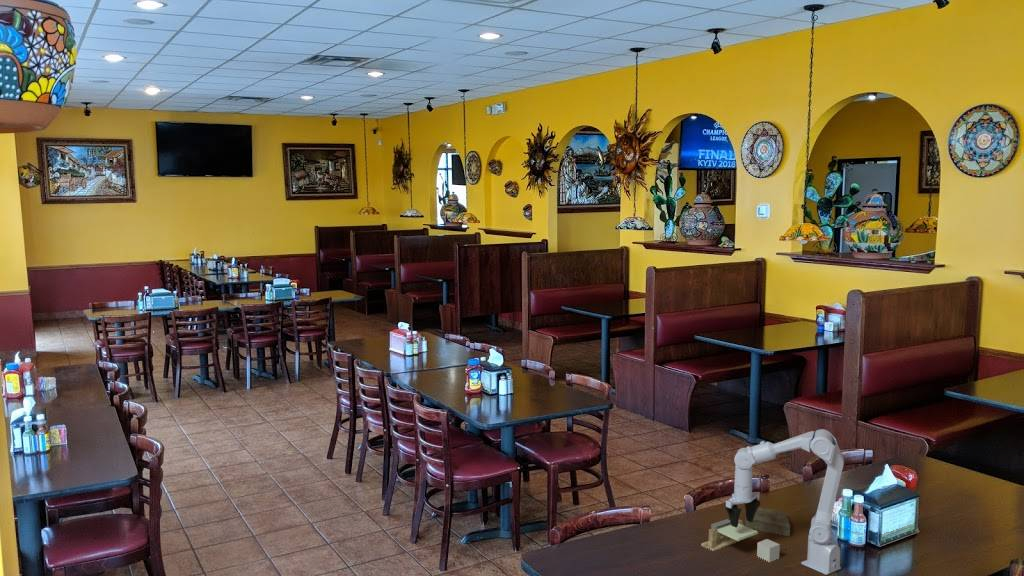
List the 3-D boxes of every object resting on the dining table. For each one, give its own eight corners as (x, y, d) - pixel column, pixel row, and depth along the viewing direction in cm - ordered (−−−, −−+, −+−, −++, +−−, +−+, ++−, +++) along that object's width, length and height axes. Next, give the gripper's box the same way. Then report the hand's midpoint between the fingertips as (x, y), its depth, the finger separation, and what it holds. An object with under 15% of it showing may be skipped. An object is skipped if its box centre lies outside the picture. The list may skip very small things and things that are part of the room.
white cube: (779, 558, 262) (779, 544, 261) (769, 562, 259) (769, 548, 259) (766, 553, 266) (767, 538, 265) (756, 557, 263) (757, 542, 263)
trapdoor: (757, 534, 267) (758, 530, 266) (737, 541, 261) (738, 537, 261) (728, 522, 277) (729, 518, 277) (709, 528, 271) (709, 524, 271)
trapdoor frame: (742, 540, 276) (743, 521, 275) (712, 551, 267) (713, 531, 266) (731, 535, 280) (731, 516, 279) (701, 545, 271) (701, 526, 271)
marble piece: (790, 537, 279) (791, 526, 278) (746, 534, 282) (747, 522, 281) (785, 518, 295) (786, 508, 294) (744, 515, 298) (744, 504, 298)
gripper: (748, 476, 271) (746, 514, 273) (719, 485, 263) (717, 524, 265) (765, 482, 266) (763, 521, 267) (735, 491, 257) (734, 531, 259)
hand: (741, 523), depth 266 cm, fingers open, 7 cm apart
